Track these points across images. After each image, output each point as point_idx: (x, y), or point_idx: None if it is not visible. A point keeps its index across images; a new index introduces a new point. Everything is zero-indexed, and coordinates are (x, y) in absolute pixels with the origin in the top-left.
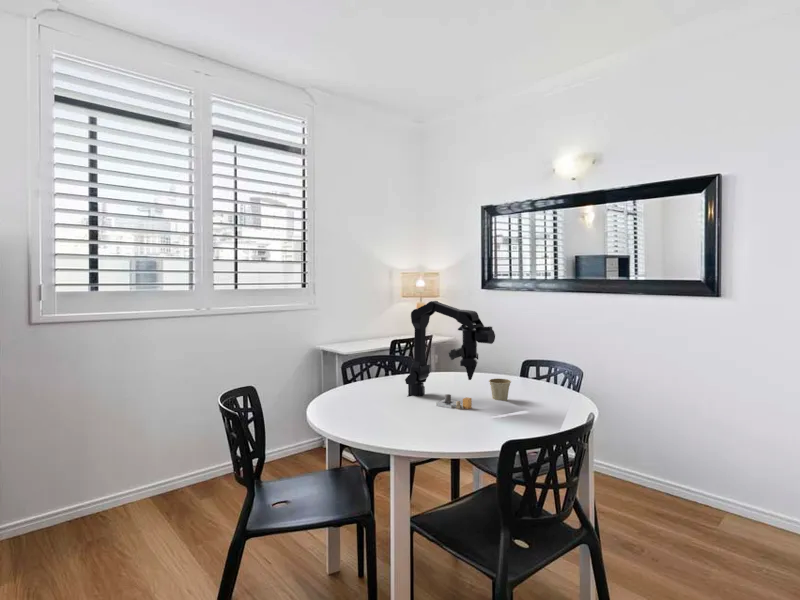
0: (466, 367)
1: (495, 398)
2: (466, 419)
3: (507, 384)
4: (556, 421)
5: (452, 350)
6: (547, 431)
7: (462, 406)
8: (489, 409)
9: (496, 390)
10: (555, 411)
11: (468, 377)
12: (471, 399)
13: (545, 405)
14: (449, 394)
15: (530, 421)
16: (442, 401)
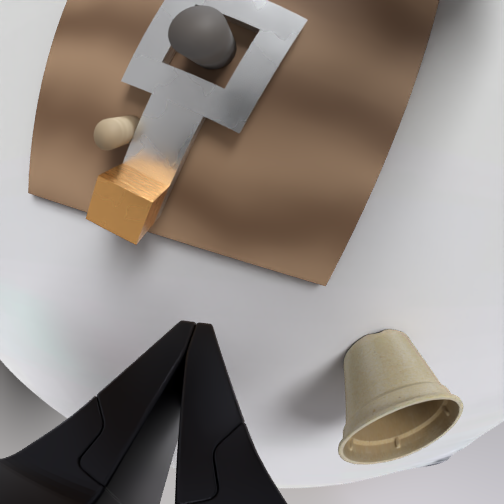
0: (18, 475)
1: (359, 351)
2: (21, 188)
3: (348, 452)
4: None
5: None
6: (40, 393)
7: (125, 160)
8: (204, 305)
9: (358, 391)
10: None
11: (160, 344)
12: (139, 239)
13: (287, 449)
14: (218, 42)
15: (93, 392)
16: (229, 4)
